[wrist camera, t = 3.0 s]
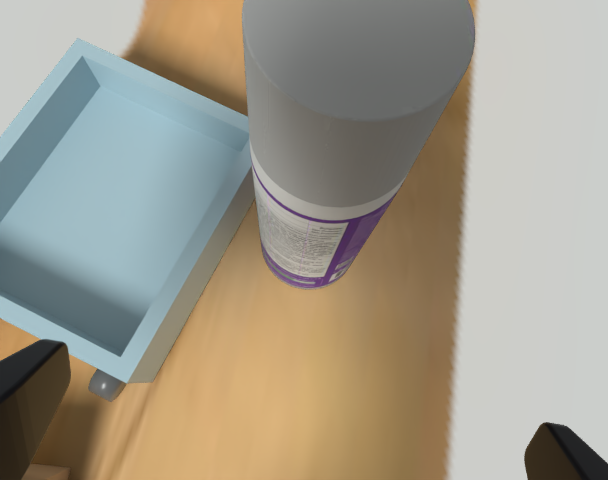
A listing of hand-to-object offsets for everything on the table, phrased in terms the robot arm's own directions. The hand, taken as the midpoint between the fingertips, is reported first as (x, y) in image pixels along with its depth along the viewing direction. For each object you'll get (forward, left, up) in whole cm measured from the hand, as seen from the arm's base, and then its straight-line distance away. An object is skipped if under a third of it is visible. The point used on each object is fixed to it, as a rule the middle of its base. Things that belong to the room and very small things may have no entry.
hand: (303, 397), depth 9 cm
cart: (+4, +10, -13) cm, 17 cm away
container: (+7, +2, -13) cm, 15 cm away
